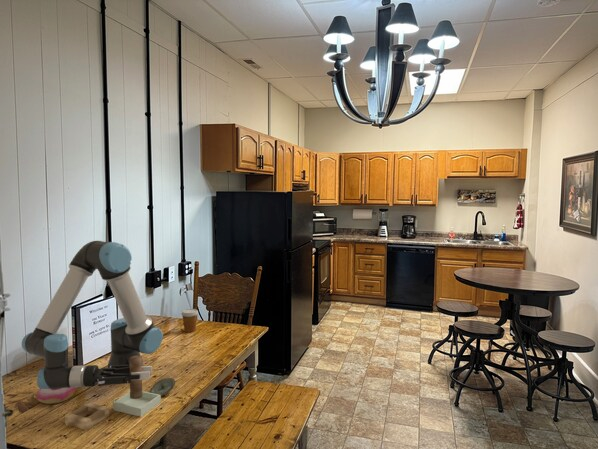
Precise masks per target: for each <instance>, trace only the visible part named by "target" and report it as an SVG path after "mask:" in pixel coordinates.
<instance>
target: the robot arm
mask: <svg viewBox="0 0 598 449" xmlns="http://www.w3.org/2000/svg"><path fill="white" fill-rule="evenodd" d="M132 259H133V258H132V253H131V251H130V249H129V248H128V247H127V246H126V245H124V244H123V243H119V242H115V241H102V240H92V241H89V242H87V243H86V244H85V245H83V246H82V247H81V248H80V249H79V250H78V251H77V252H76V254H75V255H74V256H73V258H72V260H71V261H70V263H69V265H68V268H69V270H68V271H67V274H65V277H64V278H63V280H62V282H61V283H60V285H59V287H58V289H57V291H56V292H55V294H54V296H53V297H52V299H51V301H50V302H49V305H47V308H46V310H45V311H44V312H43V315H42V316H41V318H40V319H39V321H38V323H37V324H36V327H35V328H34V329H33V331H32V332H29V333H27V334H26V335H25V336H23V338H22V339H21V347H22V350H24V351H25V352H27V353H28V354H30V355H33V356H37V357H39V358H41V359H44V367H42V368H40V369H39V371H38V374H37V378H36V384H37V386H38V388H39V389H40V388H41V389H56V388H71V387H76V389H78V388H83V387H85V388H86V387H87V388H88V387H95V386H97V384H98V387H102V386H107V385H108V386H109V385H123V384H130V383H131V380H142V381H143V380H150V376H151V375H150V374H153V366H152V365H144V362H143V359H142V372H131V374H130V357H132V356H141V354H144V355H145V354H146V355H150V354H153V353H154V352H156V351H157V350H158V349H159V348H160V346H161V345H162V342H163V339H164V334H163V331H162V329H160V328H159V327H156V326H155V323H154V321H153V319H152V318H151V317H150V316H147V314H146V312H145V309H144V307H143V305H142V302H141V300H140V298H139V295H138V293H137V291H136V290H137V289H136V288H135V286H134V283H133V280H132V278H131V276H130V273H129V272H130V270H131V264H132V263H131V261H132ZM96 270H98V273H99V275H100V277H101V279H102V281H106V282H107V283H108V285H109V288H110V290H111V292H112V295H113V296H114V299H115V301H116V303H117V306H118V308H119V310H120V313H121V315H122V318H118V319H116V320H115V319H114V320H113V321H112V322H111V324H110V344H111V345H110V348H111V352H110V357H109V361H108V363H107V367H104V368H99V366H98V365H97V364H90V365H89V364H88V365H87V366H86V365H84V364H83V365H70V366H69V341H68V336H67V335H66V334H64V333H57V332H59V330H60V327H61V326H62V324H63V323H64V320H65V319H66V316H67V315H68V314H69V312H70V309H71V308H72V306H73V304H74V302H75V301H76V299H77V298H78V296H79V294H80V291H81V290H82V288H83V287H84V285H85V283H86V282H87V280H88V278H89V277H92V276H93V274H94V273H95V271H96Z"/></svg>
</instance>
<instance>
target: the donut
mask: <svg viewBox="0 0 598 449" xmlns="http://www.w3.org/2000/svg"><path fill="white" fill-rule="evenodd" d="M76 390H77V388H76V387H71V388H56V389H41V388H39V389H38V390H37V391H36V392H37V393H36V399H37V400H38V402H40V403H43V404H46V405H52V404H59V403H62V402H65V401H67V400H69V399H71V398H72V397H73V395H75V393H76Z"/></svg>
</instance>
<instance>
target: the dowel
mask: <svg viewBox="0 0 598 449" xmlns="http://www.w3.org/2000/svg"><path fill="white" fill-rule="evenodd" d="M142 360H143V356H132V357H130V374H131V372H142ZM142 391H143V380H131V383H129V392H130V398H131V399H138V398H140V397H142Z"/></svg>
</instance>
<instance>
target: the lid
mask: <svg viewBox="0 0 598 449" xmlns="http://www.w3.org/2000/svg"><path fill="white" fill-rule="evenodd" d="M175 385H176V381H175V379H174V378H171V377H167V378H166V377H165V378H161V379H160V380H158V381H156V382H155V383H154V384H153V385H152V387H151V388H150V389H149V393H154V394H158V395H161V397H162V396H165V395H167V394H168V393H170V392H171V391H172V390H173V389H174V387H175Z"/></svg>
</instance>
